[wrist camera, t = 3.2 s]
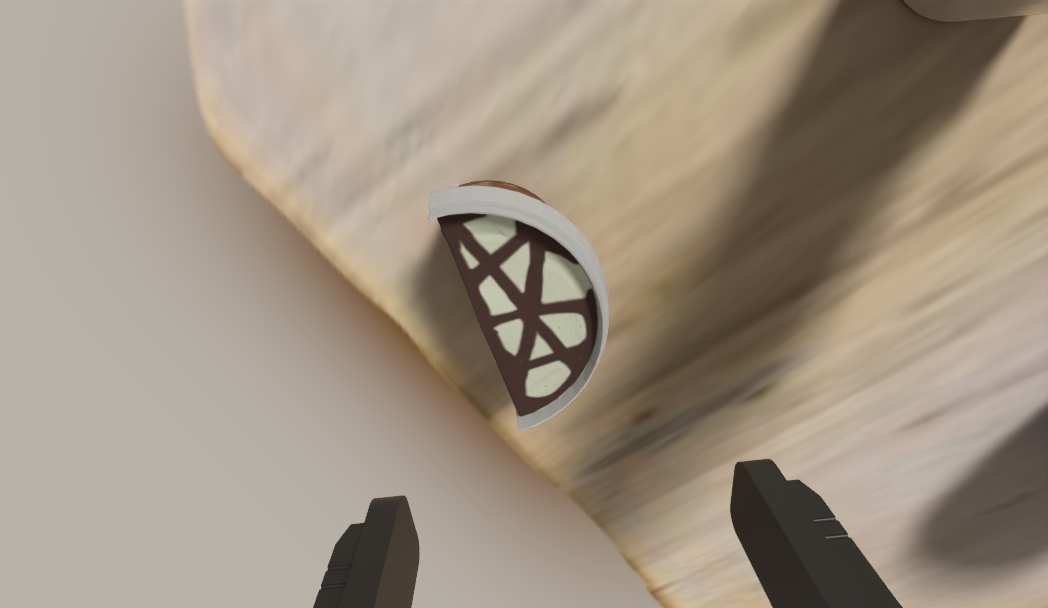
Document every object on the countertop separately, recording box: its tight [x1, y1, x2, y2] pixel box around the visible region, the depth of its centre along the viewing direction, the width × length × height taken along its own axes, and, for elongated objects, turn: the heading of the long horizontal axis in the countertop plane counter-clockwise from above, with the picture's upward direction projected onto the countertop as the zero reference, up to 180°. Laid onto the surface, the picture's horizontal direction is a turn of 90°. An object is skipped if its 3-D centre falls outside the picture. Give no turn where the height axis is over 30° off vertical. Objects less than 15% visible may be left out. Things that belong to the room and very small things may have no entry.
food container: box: [428, 181, 609, 432], centre depth 26 cm, size 12×6×10 cm, turn 18°
